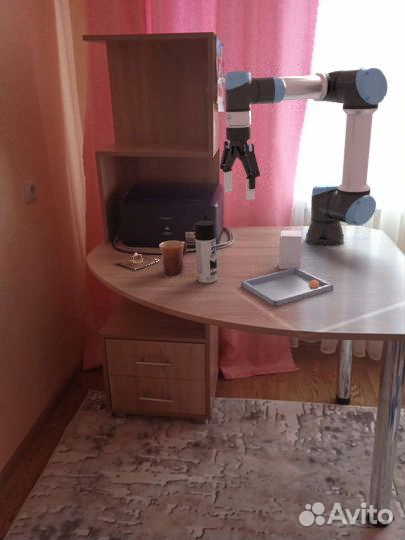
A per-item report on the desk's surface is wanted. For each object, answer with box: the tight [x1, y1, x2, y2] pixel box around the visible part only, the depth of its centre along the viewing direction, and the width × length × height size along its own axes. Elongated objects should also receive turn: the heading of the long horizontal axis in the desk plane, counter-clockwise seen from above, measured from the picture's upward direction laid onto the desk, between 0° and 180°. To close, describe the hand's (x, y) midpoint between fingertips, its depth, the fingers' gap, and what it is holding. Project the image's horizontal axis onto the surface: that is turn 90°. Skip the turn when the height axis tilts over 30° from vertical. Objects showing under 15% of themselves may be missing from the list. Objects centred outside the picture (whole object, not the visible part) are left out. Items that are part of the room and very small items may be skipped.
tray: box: [240, 267, 334, 307], centre depth 148 cm, size 22×18×2 cm
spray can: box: [194, 220, 218, 284], centre depth 155 cm, size 7×7×20 cm
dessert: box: [131, 252, 160, 271], centre depth 176 cm, size 12×12×5 cm
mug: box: [158, 240, 188, 276], centre depth 166 cm, size 12×9×10 cm
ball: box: [309, 280, 319, 289], centre depth 145 cm, size 3×3×3 cm
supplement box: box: [278, 230, 303, 270], centre depth 164 cm, size 7×7×13 cm
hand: (239, 195), depth 150 cm, fingers open, 13 cm apart
